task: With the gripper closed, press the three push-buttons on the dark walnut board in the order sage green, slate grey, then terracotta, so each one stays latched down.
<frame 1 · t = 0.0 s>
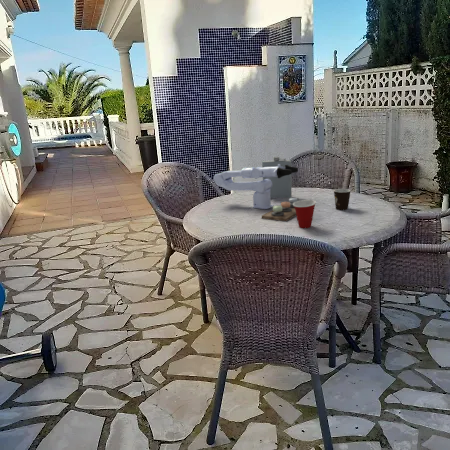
hand: (294, 170, 224), 22 cm above the table, tool horizontal, fingers open, 7 cm apart
slate button: (293, 200, 232), point 5 cm above the table, slide at 0.0 cm
plastic cup: (304, 227, 202), on the table
coffee mug: (341, 208, 230), on the table
button board: (285, 213, 226), on the table
terracotta button: (285, 204, 225), point 5 cm above the table, slide at 0.0 cm
grey upright box: (277, 197, 264), on the table
sage button: (277, 208, 218), point 5 cm above the table, slide at 0.0 cm
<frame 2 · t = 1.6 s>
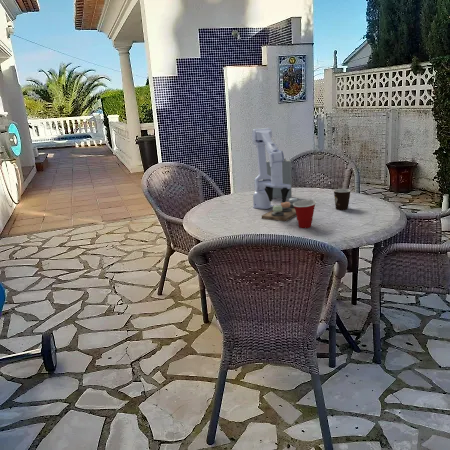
hand: (277, 201, 217), 8 cm above the table, tool pointing down, fingers open, 7 cm apart
nothing on the table moved.
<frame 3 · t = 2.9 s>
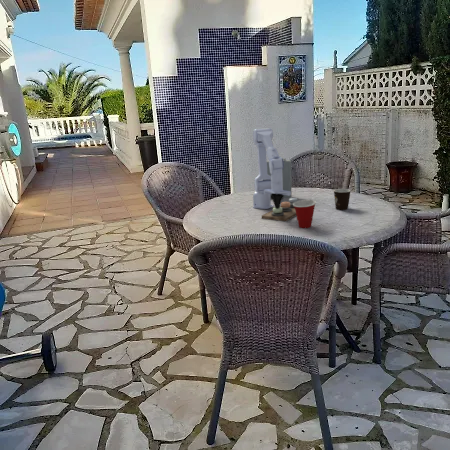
hand: (277, 208, 218), 5 cm above the table, tool pointing down, fingers closed, pressing on sage button
sage button: (277, 210, 218), point 4 cm above the table, slide at 0.7 cm, touching gripper
everything else where it was.
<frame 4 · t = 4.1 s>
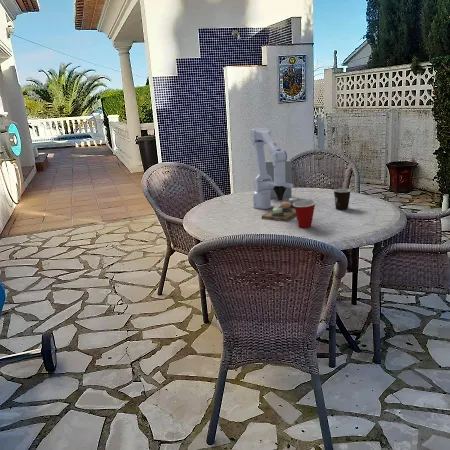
hand: (280, 200, 219), 8 cm above the table, tool pointing down, fingers closed
sage button: (277, 210, 218), point 4 cm above the table, slide at 1.1 cm
everything else where it was.
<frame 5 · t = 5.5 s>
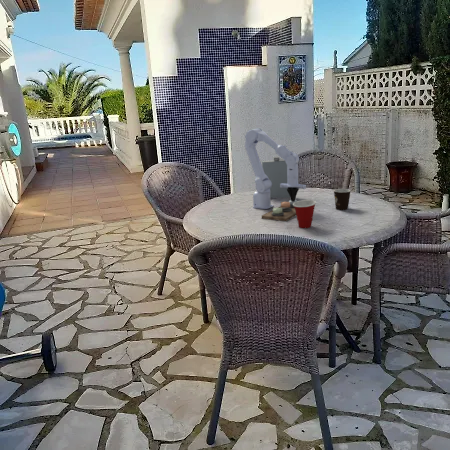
hand: (293, 201, 232), 5 cm above the table, tool pointing down, fingers closed, pressing on slate button
slate button: (293, 202, 232), point 4 cm above the table, slide at 1.1 cm, touching gripper
everything else where it was.
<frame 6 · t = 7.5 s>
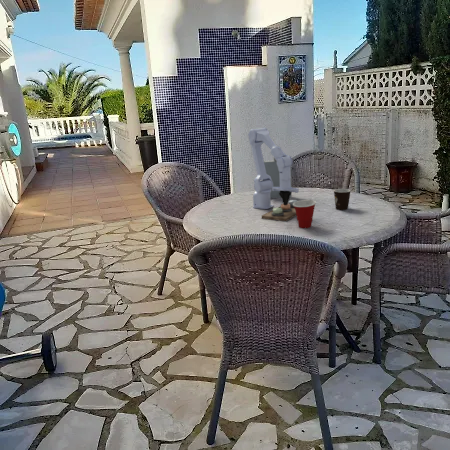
hand: (285, 204, 225), 5 cm above the table, tool pointing down, fingers closed, pressing on terracotta button
slate button: (293, 202, 232), point 4 cm above the table, slide at 1.1 cm
terracotta button: (285, 206, 225), point 4 cm above the table, slide at 1.1 cm, touching gripper
everything else where it was.
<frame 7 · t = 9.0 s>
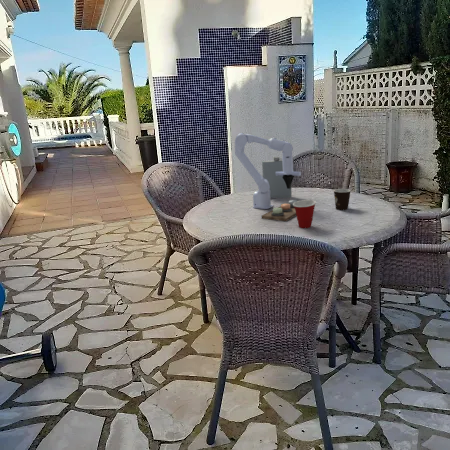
hand: (288, 188, 237), 10 cm above the table, tool pointing down, fingers closed
terracotta button: (285, 206, 225), point 4 cm above the table, slide at 1.1 cm
everything else where it was.
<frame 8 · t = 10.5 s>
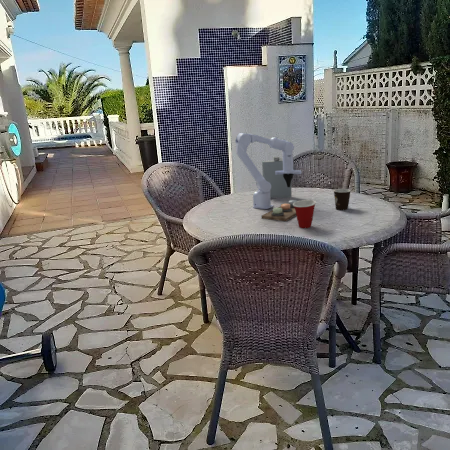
hand: (288, 186, 240), 10 cm above the table, tool pointing down, fingers closed
nothing on the table moved.
at the end: sage button slide at 1.1 cm; slate button slide at 1.1 cm; terracotta button slide at 1.1 cm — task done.
